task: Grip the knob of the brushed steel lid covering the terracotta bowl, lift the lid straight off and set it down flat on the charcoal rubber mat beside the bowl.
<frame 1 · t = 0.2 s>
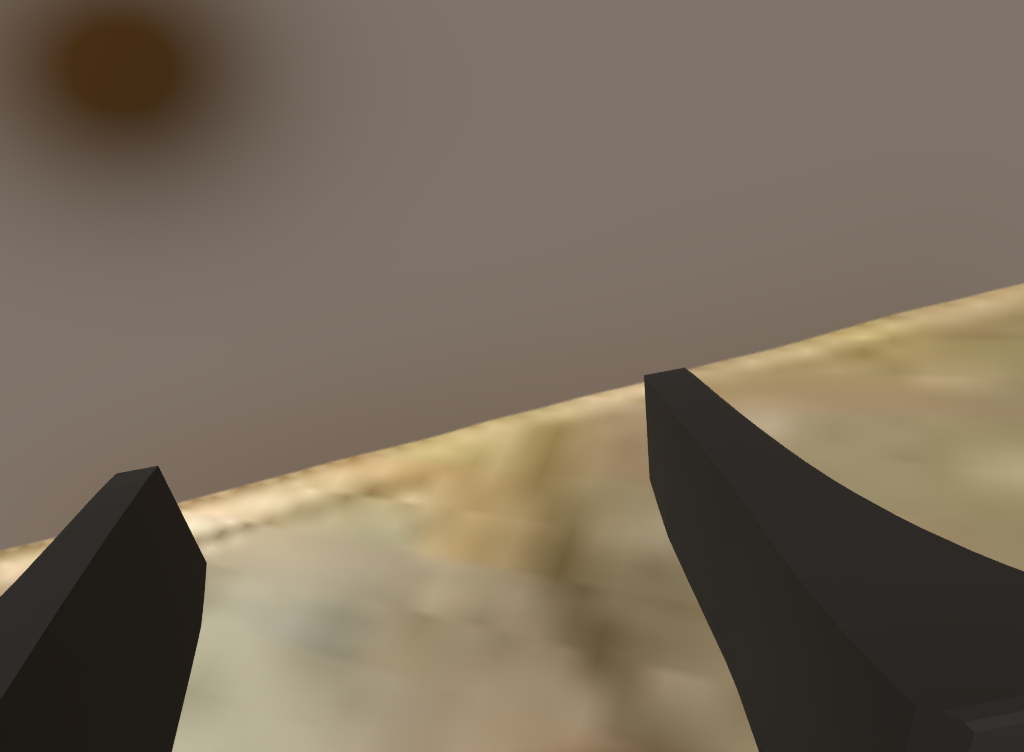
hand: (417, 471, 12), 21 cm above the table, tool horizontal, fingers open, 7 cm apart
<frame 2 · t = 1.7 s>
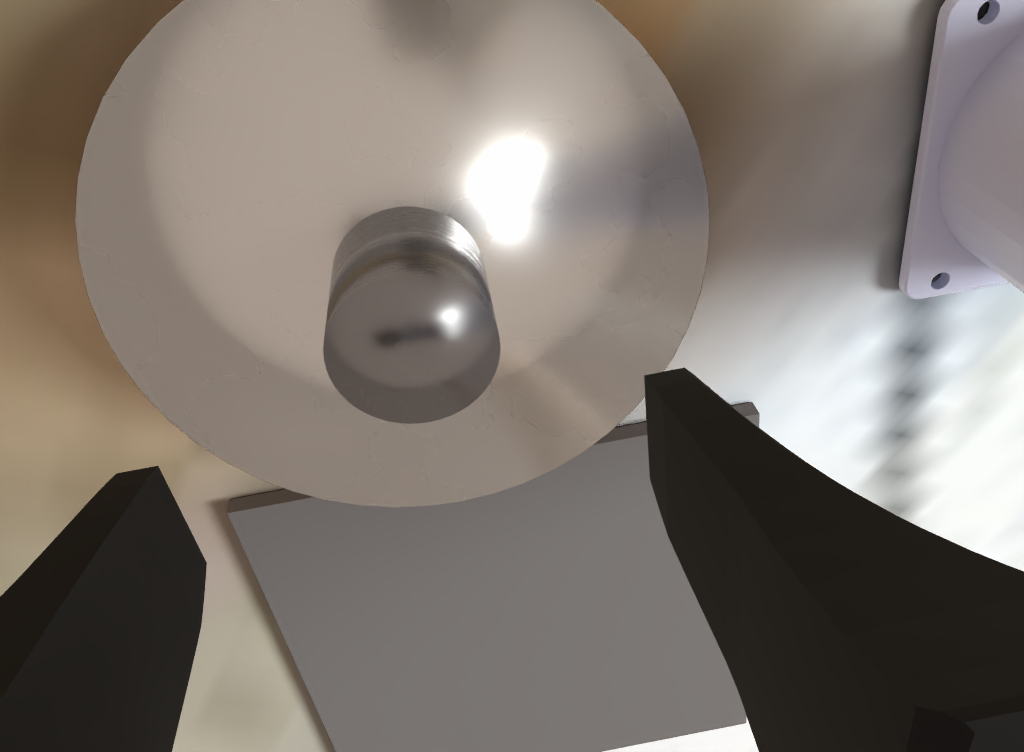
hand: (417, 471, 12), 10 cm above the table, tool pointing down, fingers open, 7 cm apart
steel lid: (408, 265, 18), point 3 cm above the table, touching terracotta bowl
charcoal mat: (526, 621, 30), on the table
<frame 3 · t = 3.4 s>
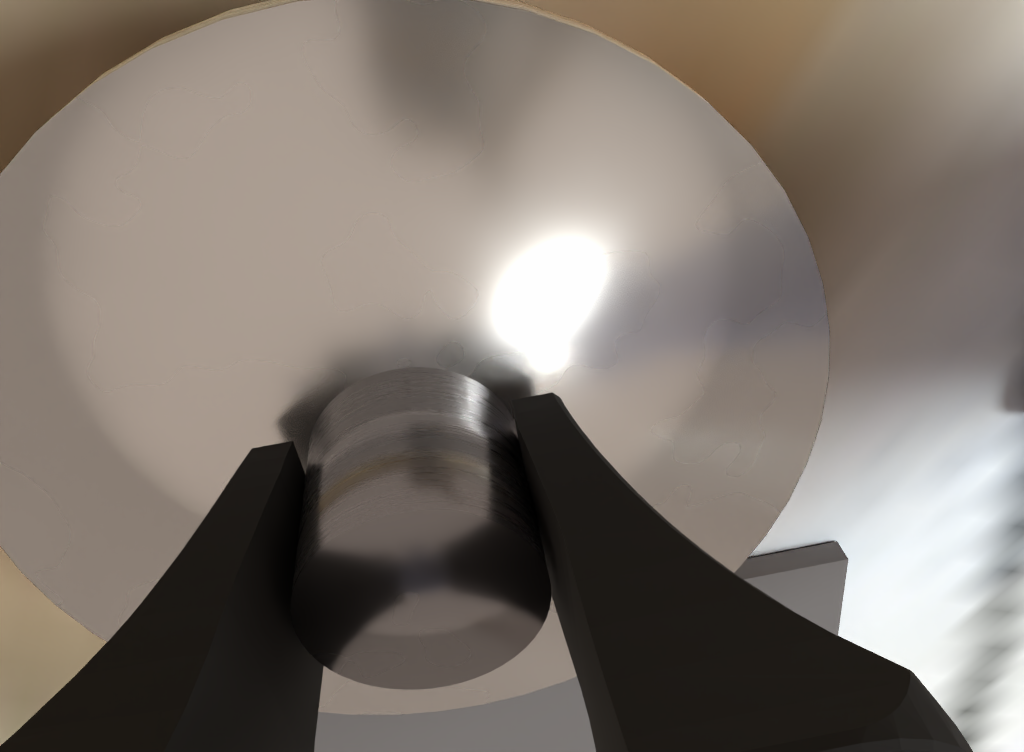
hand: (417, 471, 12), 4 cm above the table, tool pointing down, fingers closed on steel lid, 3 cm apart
steel lid: (414, 430, 13), point 3 cm above the table, touching gripper, terracotta bowl
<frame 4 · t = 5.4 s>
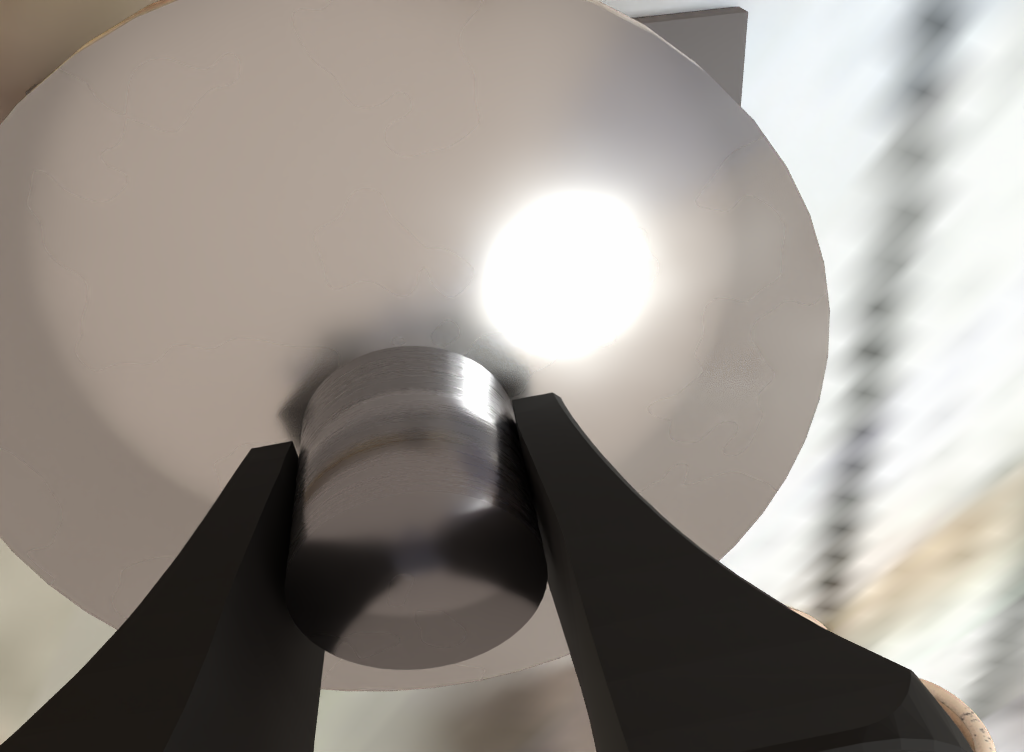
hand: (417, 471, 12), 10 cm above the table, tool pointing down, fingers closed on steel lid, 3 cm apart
steel lid: (409, 409, 13), point 9 cm above the table, touching gripper
charcoal mat: (440, 342, 23), on the table
teacup with lid: (761, 656, 34), on the table
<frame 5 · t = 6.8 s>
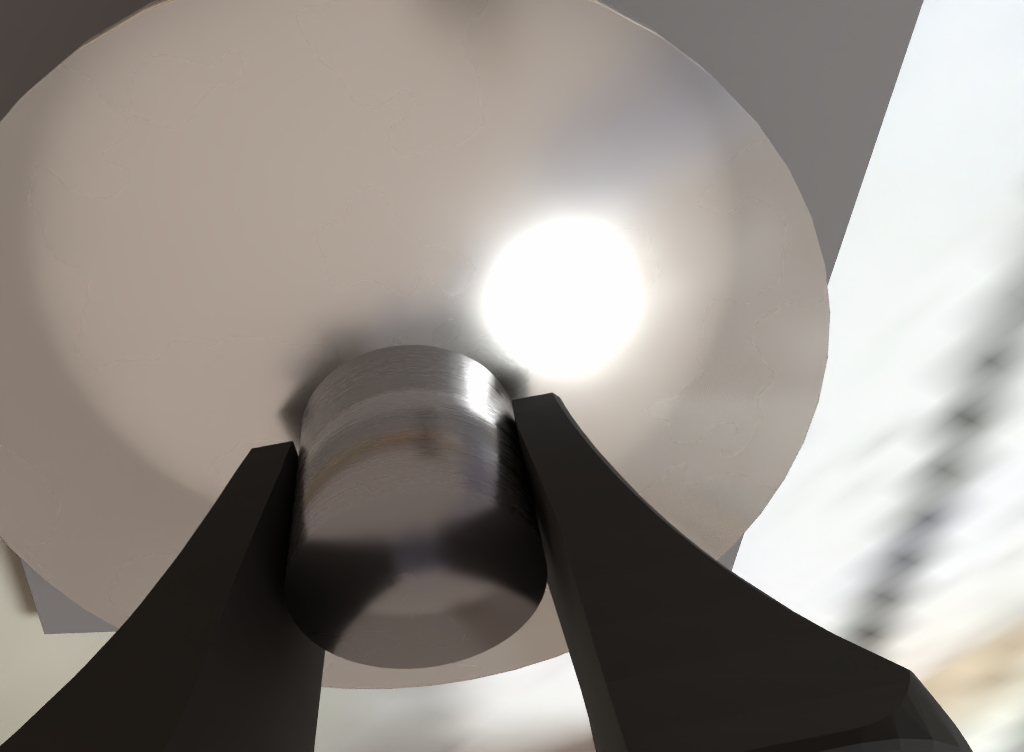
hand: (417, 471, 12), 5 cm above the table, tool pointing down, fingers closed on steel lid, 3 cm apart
steel lid: (409, 408, 13), point 3 cm above the table, touching gripper
charcoal mat: (410, 318, 16), on the table
when the fingers open (3 cm above the table, at t = 7.8 s): steel lid drops 2 cm, resting on charcoal mat.
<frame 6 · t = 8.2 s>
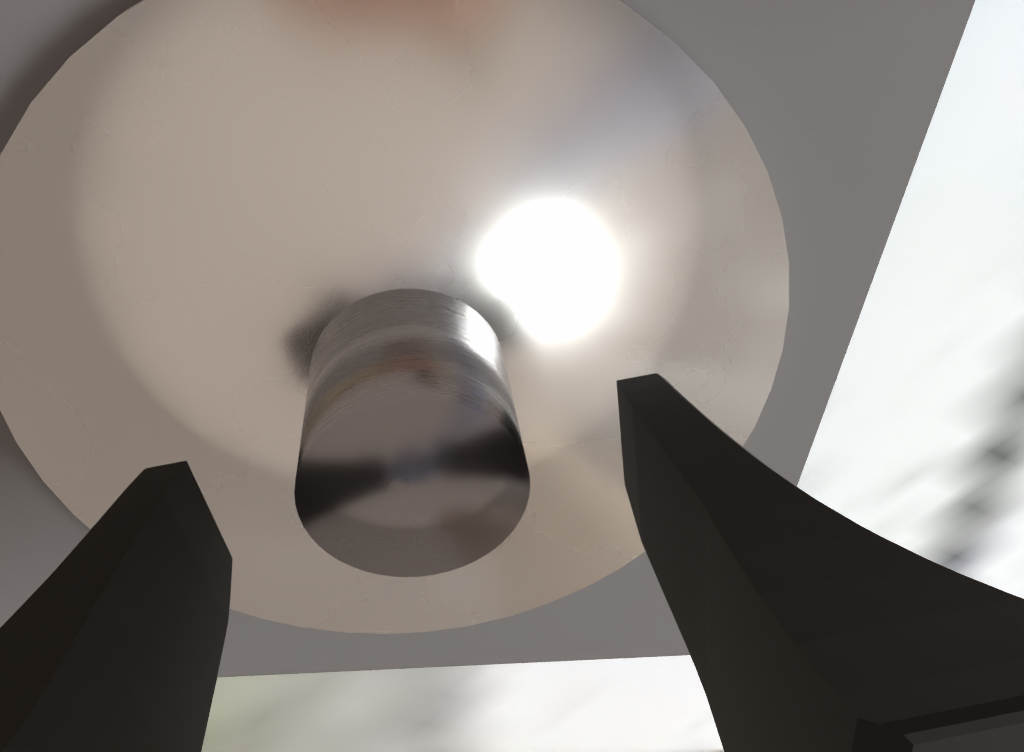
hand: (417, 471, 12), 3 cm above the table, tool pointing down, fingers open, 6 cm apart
steel lid: (408, 354, 14), point 1 cm above the table, touching charcoal mat
charcoal mat: (411, 356, 15), on the table
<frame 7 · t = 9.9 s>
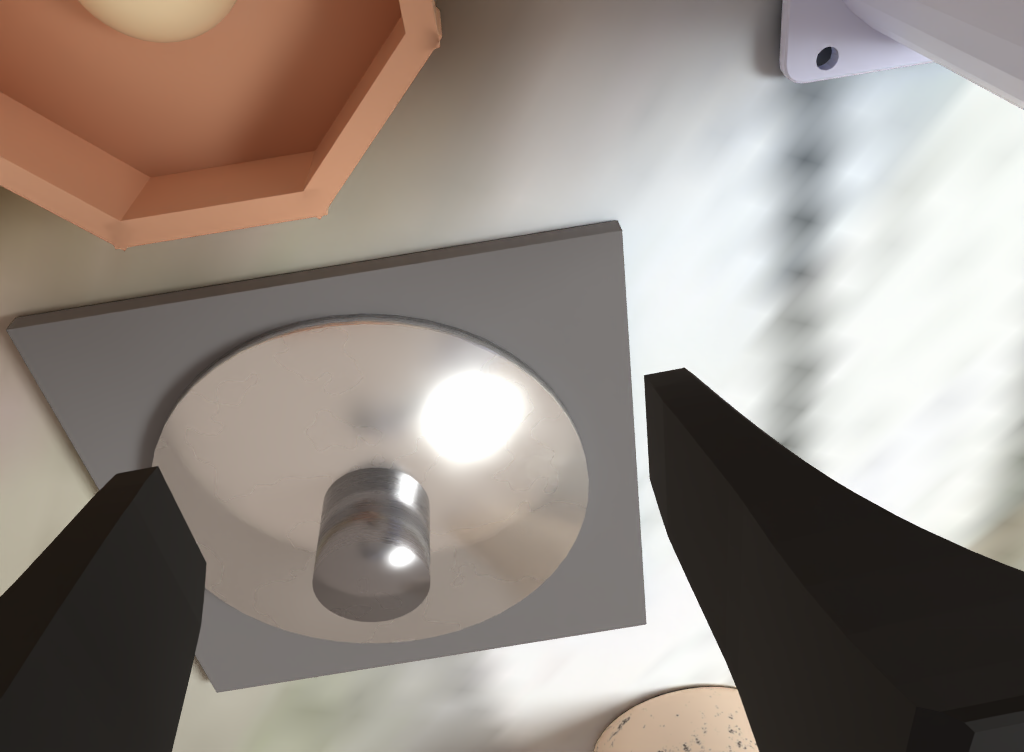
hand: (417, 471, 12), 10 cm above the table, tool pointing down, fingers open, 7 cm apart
steel lid: (377, 493, 26), point 1 cm above the table, touching charcoal mat
charcoal mat: (383, 489, 27), on the table
teacup with lid: (717, 727, 37), on the table
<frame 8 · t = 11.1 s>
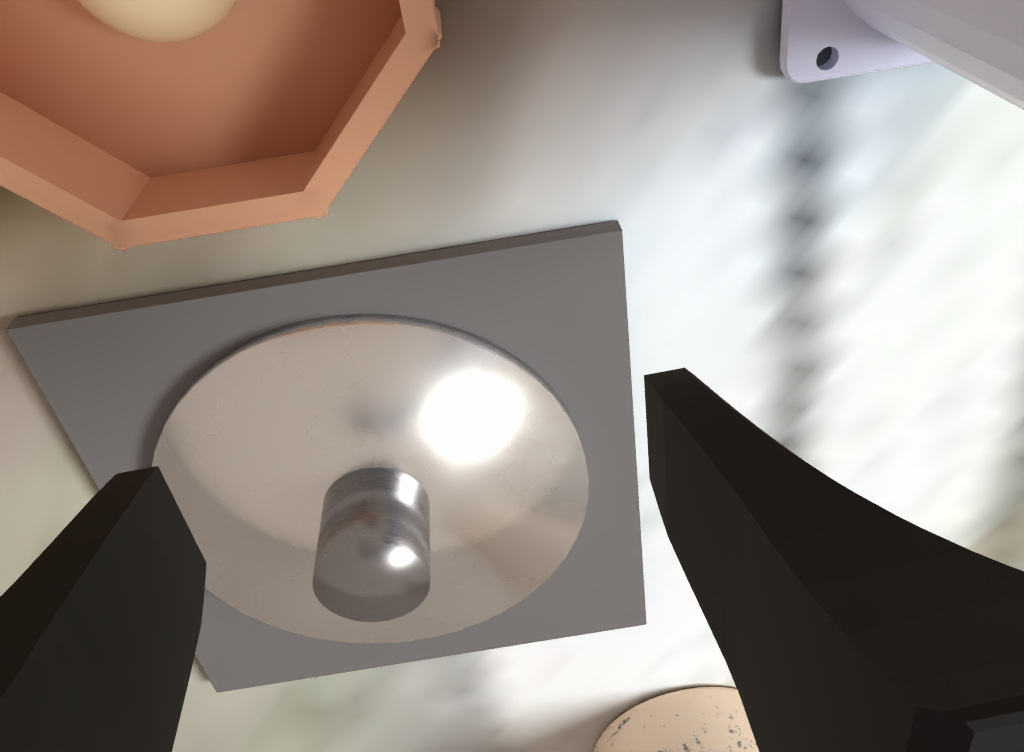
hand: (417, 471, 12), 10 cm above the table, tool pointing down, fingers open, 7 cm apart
steel lid: (377, 493, 26), point 1 cm above the table, touching charcoal mat
charcoal mat: (383, 489, 27), on the table
teacup with lid: (717, 727, 37), on the table
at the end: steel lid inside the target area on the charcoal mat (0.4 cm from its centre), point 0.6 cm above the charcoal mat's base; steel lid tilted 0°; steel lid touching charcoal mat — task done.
